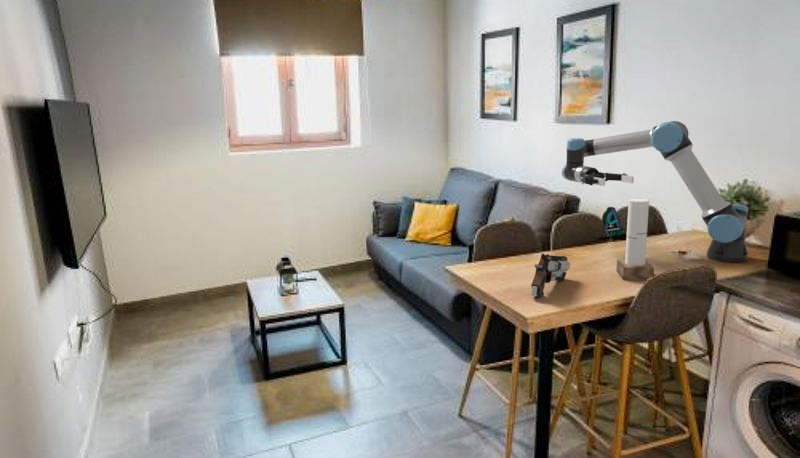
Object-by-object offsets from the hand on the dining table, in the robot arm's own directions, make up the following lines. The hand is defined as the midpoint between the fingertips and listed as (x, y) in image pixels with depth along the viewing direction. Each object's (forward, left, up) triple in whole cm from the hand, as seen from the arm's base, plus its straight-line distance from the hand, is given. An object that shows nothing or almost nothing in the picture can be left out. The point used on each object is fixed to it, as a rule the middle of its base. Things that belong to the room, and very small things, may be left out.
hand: (618, 181), depth 224 cm
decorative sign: (-8, -49, -35) cm, 61 cm away
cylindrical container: (-4, +16, -30) cm, 34 cm away
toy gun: (+30, +32, -35) cm, 56 cm away
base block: (-4, +16, -35) cm, 39 cm away
